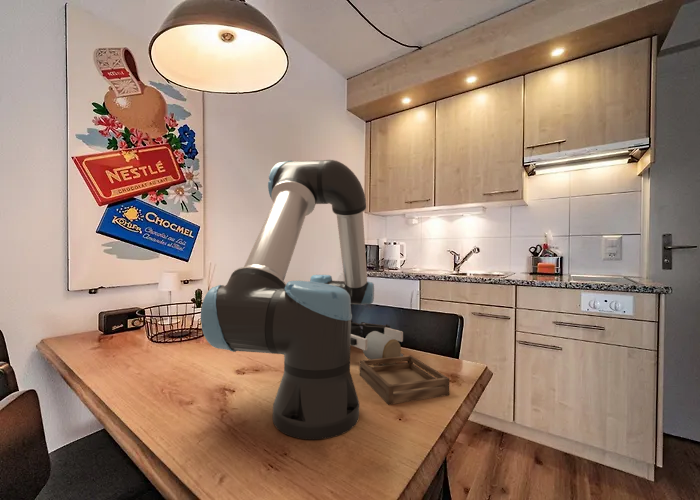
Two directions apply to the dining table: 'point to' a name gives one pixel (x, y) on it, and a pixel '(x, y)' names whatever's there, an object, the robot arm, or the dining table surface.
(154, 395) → the dining table surface
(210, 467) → the dining table surface
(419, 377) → the walnut crate
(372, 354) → the ceramic mug
